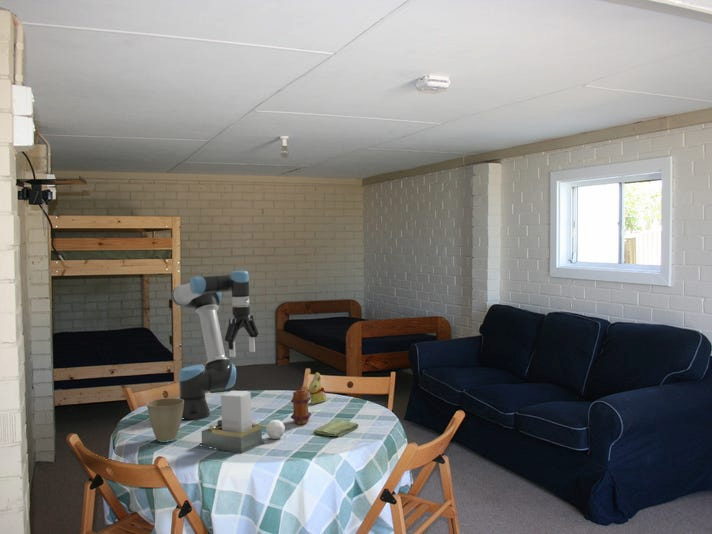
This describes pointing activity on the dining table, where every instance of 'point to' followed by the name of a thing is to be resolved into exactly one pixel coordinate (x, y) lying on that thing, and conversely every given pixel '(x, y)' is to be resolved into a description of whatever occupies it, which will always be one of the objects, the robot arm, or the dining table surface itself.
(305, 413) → the mug
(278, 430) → the geometric ball
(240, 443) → the grey and gold block
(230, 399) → the supplement box
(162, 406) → the plant pot
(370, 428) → the dining table surface
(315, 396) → the chocolate bunny
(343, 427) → the washcloth
